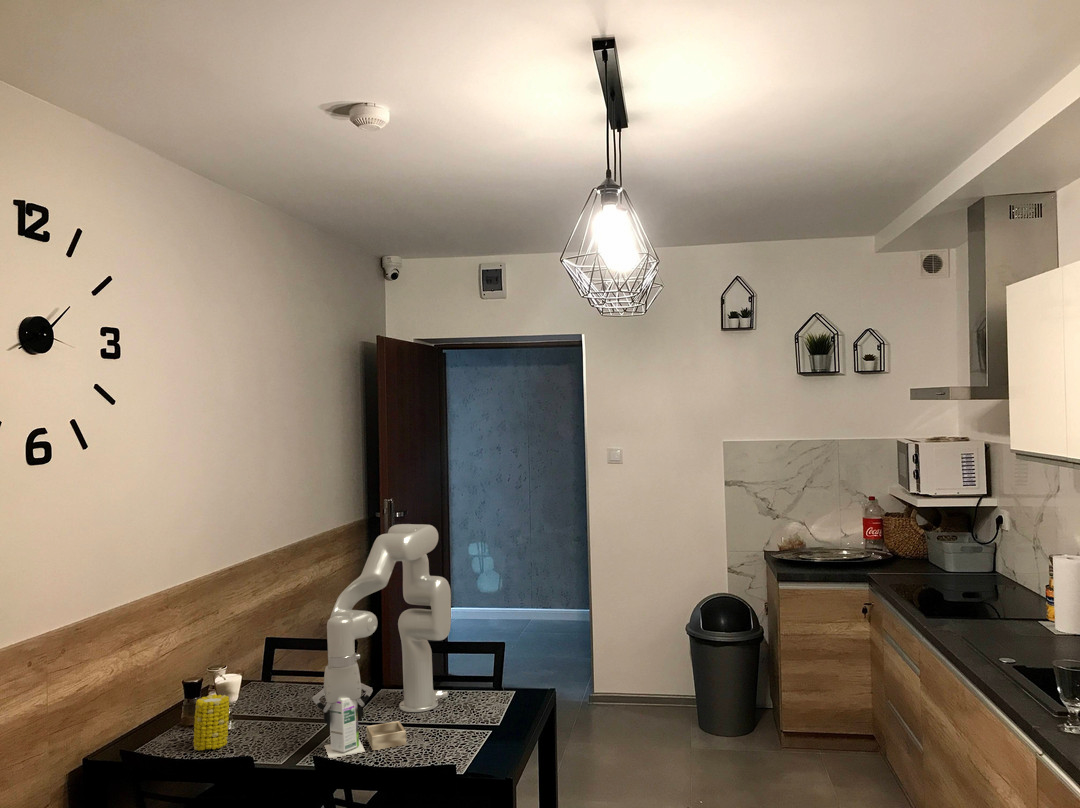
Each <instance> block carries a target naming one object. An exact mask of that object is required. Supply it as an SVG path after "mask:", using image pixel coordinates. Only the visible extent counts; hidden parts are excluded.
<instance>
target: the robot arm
mask: <svg viewBox="0 0 1080 808" xmlns="http://www.w3.org/2000/svg"><path fill="white" fill-rule="evenodd" d="M438 542H439V532H438V530H437V528H436V527H435V526H433V525H431V524H422V523H421V524H418V523H417V524H416V523H415V524H414V523H413V524H411V523H401V524H400V523H399V524H394V525H392V526H391V527H389V529H388V531H387V533H383V534H380V535H378V536H377V537H376V539H375V540H374V542H373V544H372V547H371V549H370V552H369V554H368V556H367V559H366V562H365V565H364V567H363V569H362V571H361V574H360V575H359V576H358V577H357V578H356V579H354V580H353V581H352V582H351V583H349V585H348V586H346V588H345V589H344V590H343V591H341V593H340V594H339V596H338V597H337V598H336V602H335V603H334V606H333V607H332V608H333V609H332V611H331V613H330V617H329V619H328V620H327V621H326V622H327V623H326V633H327V635H326V638H327V639H326V640H327V661H328V662H327V665H325V668H324V676H323V688H322V689H321V690H320V691H319V692H317V693H316V694H315V695H314V696H312V697H311V699H312V701H313V703H314V704H315V705H316V707H317V708H318V709H320V710H321V711H322V712H323V724H326V726H327V727H330V712H329V708H330V706H331V704H333V703H337V701H338V699H340V698H350V700H356V701H357V706H358V722H361V721H362V719H363V718H362V717H364V706H365V704H366V703H367V702H368V700H369V699H370V696H371V695H372V693H373V691H374V690H373V688H372V687H370V686H369V685H366V684H365V683H362V682H361V674H360V669H359V664H358V662H357V660H360V659H361V654H360V653H356V652H355V651H356V650H355V648H356V647H355V640H356V639H363V638H367V637H368V638H369V636H372V635H373V633H375V632H376V630H377V628H378V618H377V616H376V614H374V613H373V612H371V611H368V610H357V609H353V608H354V606H356V604H357V603H358V602H359V601H360V600H362V599H363V598H365V597H367V596H369V595H371V594H373V593H376V592H378V591H380V590H383V589H384V588H386V587H387V586H388V583H389V580H390V578H391V576H392V573H393V570H394V567H395V565H396V563H397V562H402V596H403V599H404V601H405V603H407V604H409V605H414V606H415V605H416V606H427V607H429V606H430V608H431V609H426V608H408V609H406V610H403V611H402V612H401V614H400V615H399V618H398V620H397V621H398V622H397V626H398V632H399V636H400V640H401V641H400V642H401V652H402V653H401V654H402V682H403V683H402V684H403V700H402V701H400V703H399V707H398V708H399V710H401V711H403V712H407V713H423V712H427V711H430V710H434V709H435V708H437V707H438V706H439V699H444V698H448V695H449V693H448V690H445V691H442V690H437V691H435V690H434V683H433V682H434V680H433V678H434V677H433V656H432V655H433V652H432V648H431V645H430V643H429V641H443V640H445V639H446V638H447V637H448V636H449V634H450V632H451V624H452V607H451V606H452V601H451V600H452V596H451V595H452V592H451V591H452V590H451V586H450V584H449V581H448V580H447V579H446V578H445V577H443V576H439V575H430V566H429V565H430V564H429V563H430V562H429V558H428V555H427V554H428V553H430V552H432V551H433V550H434V549H435V548H436V547H437V545H438ZM362 690H363V691H364V692H365V691H366V692H365V694H364V695H363V696H362ZM322 697H323V699H324V700H325V702H324V703H323V702H321V701H320V699H321V698H322Z"/></svg>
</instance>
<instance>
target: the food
mask: <svg viewBox="0 0 1080 808" xmlns="http://www.w3.org/2000/svg"><path fill="white" fill-rule="evenodd" d="M194 711H195V712H194V723H193V726H194V728H193V731H194V732H193V740H192V741H193V747H194V748H193V749H194V750H195V751H196V750H197V751H205V750H211V749H212V750H216V749H218V750H219V748H220V749H222V748H224V747H225V746H226V745H227V744H228V739H229V738H228V736H229V731H228V730H229V724H230V723H229V722H230V721H229V719H230V718H229V716H230V697H229V696H228V695H226V694H222V695H221V694H216V693H214V694H212V695H211V694H209V695H207V696H202V697H201V698H198V699H197V700H196V702H195V710H194ZM223 746H224V747H223ZM221 747H222V748H221Z"/></svg>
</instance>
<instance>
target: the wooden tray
mask: <svg viewBox="0 0 1080 808" xmlns="http://www.w3.org/2000/svg"><path fill="white" fill-rule="evenodd" d="M367 740H368V741H367ZM366 741H367V743H368V742H369V743H368V745H369V744H370V745H369V746H371V747H370V748H372V749H371V751H372V750H378V751H381V750H380V749H384V750H386V749H385V748H389V749H391V748H390V747H395V748H397V747H396V746H400V747H403V746H402V745H406V746H407V731H406V729H405V728H404V726H403V725H402V723H401V721H399V720H396V721H391V722H384V723H379V724H372V725H367V726H366Z"/></svg>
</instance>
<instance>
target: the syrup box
mask: <svg viewBox="0 0 1080 808" xmlns="http://www.w3.org/2000/svg"><path fill="white" fill-rule="evenodd" d="M357 705H358V702H357V701H356V700H350V698H340V699H338V701H337V703H333V704H331V706H330V708H329V709H328V710H329V712H330V726H329V735H330V736H329V737H330V744H331V749H332V750H335V751H340V752H346V751H348V750H350V749H353V748H356V747H359V740H360V737H359V736H360V735H359V720H358V706H357Z"/></svg>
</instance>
